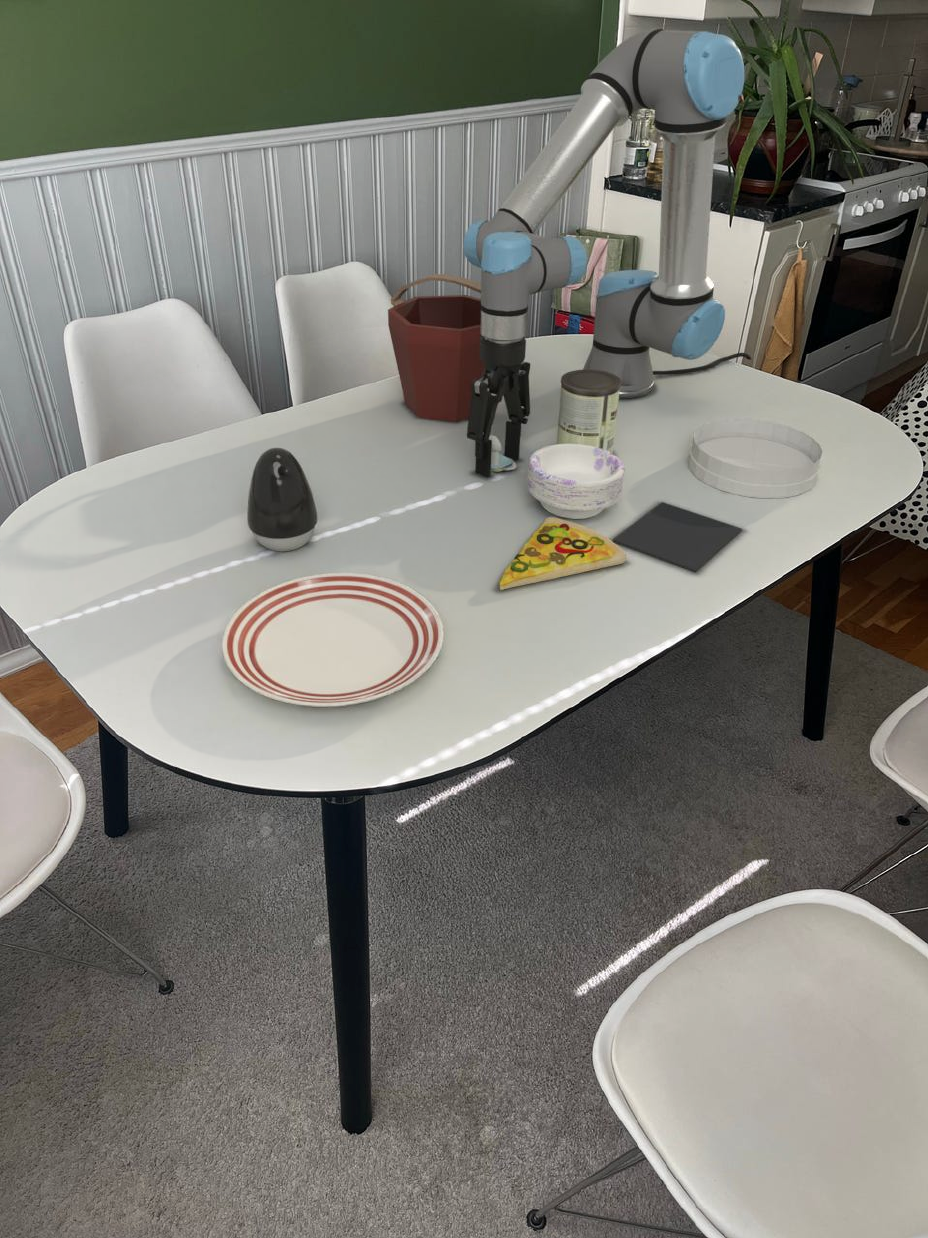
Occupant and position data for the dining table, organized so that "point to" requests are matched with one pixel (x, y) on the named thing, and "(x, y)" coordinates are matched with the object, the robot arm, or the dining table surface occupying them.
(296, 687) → the dinner plate
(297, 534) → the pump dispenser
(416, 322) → the bucket
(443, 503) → the dining table surface
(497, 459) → the pacifier
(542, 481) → the paper bowls
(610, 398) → the coffee can
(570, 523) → the pizza slice
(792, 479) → the dish
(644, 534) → the placemat
